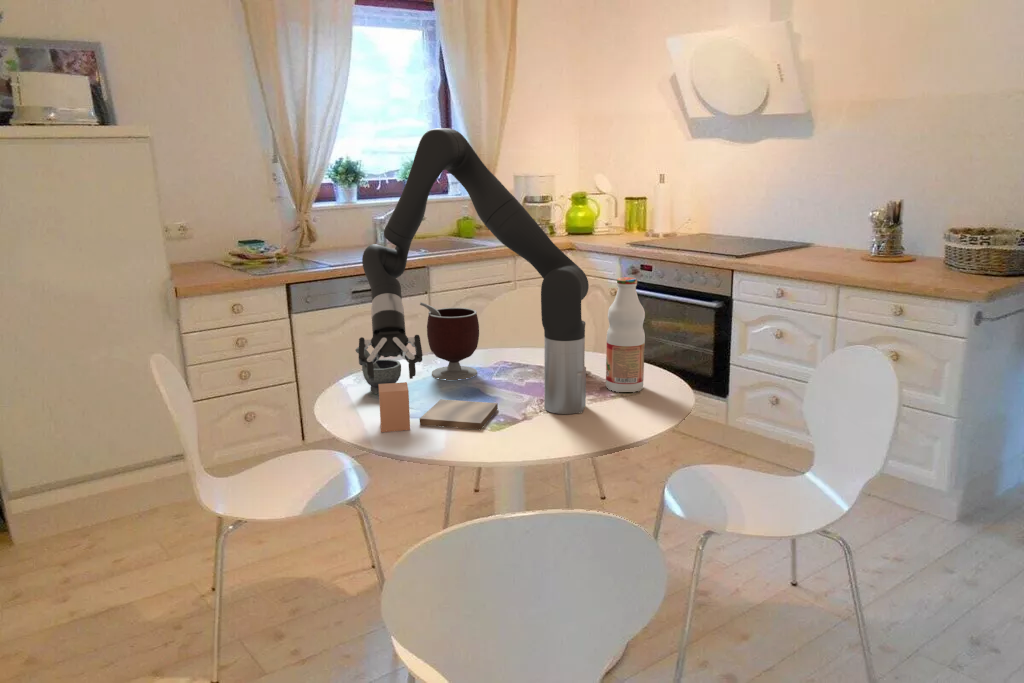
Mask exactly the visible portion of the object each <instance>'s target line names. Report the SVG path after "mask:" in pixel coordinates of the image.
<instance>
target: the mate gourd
mask: <svg viewBox="0 0 1024 683" xmlns="http://www.w3.org/2000/svg"><path fill="white" fill-rule="evenodd" d="M419 306H423V307H424V308H425V309H427V310H428V316H427V323H426V333H427V334H426V335H427V336H426V337H427V340H428V341H427V342H428V345H429V349H430V351H431V352H432V353H433V355H434V356H435V357H436V358H438V359H442V360H443V361H447V362H448V364H447V366H441V367H438V368H435V369H433V370H432V371H431V377H432V376H433V377H432V378H434V377H435V378H434V379H436V378H439V379H438V380H440V379H446V380H445V381H447V380H457V381H459V380H458V379H465V380H467V379H466V378H470V379H472V378H471V377H473V376H475V375H476V374H477V375H478V371H477V369H476V368H474V367H471V366H466V365H465V366H463V365H461V364H460V361H463V360H466V359H468V358H470V357H471V356H473V354H474V353H475V352H476V350H477V348H478V345H479V337H480V323H479V317H478V314H477V310H476V309H472V308H467V307H447V308H445V307H444V308H435V307H434V306H432V305H430V304H427V303H424V302H421V301H420V303H419ZM477 375H476V376H477ZM476 376H475V377H476ZM473 378H474V377H473Z"/></svg>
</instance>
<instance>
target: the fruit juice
mask: <svg viewBox="0 0 1024 683" xmlns="http://www.w3.org/2000/svg"><path fill="white" fill-rule="evenodd" d="M616 285H617V292H616V294H615V297H614V299H613V300H614V301H613V302H612V303H611V304H610V306H609V308H608V310H607V319H608V324H609V325H608V326H609V327H608V329H607V330H606V351H605V352H606V357H605V362H606V363H605V387H606V388H608V389H607V390H608V391H611V390H612V391H611V392H614V391H616V392H615V393H619V392H633V393H636V392H635V391H638V392H640V391H641V389H642V390H643V388H644V375H645V374H644V371H645V345H646V344H645V343H646V337H645V330H644V327H643V325H644V320H645V318H646V313H645V308H644V307H643V305H642V303H641V301H640V299H639V296H638V293H637V286H638V279H637V278H635V277H632V276H631V277H630V276H629V277H624V276H622V277H618V278H617V279H616ZM639 390H640V391H639Z"/></svg>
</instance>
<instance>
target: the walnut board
mask: <svg viewBox="0 0 1024 683" xmlns="http://www.w3.org/2000/svg"><path fill="white" fill-rule="evenodd" d="M497 409H498V403H497V402H486V401H485V402H484V401H470V400H469V401H468V400H455V399H442V398H441V399H439V400H438V401H436V403H435V404H434V405H433V406H431V408H429V410H427V411H426V412H425V413H424V414H423V415H421V417H420V418H419V426H428V427H429V426H430V427H439V426H441V427H442V426H444V427H442V428H452V427H458V428H457V429H465V428H467V430H468V429H469V430H477V429H478V430H479V429H480V431H481V430H482V429H483V428H484V427H483V426H485V425H486V424H487V423H488V422H489V421H490V419H491V418H492V417H493V416H494V414H496V412H497V411H498V410H497ZM492 415H493V416H492ZM491 416H492V417H491ZM487 421H488V422H487ZM441 427H440V428H441ZM482 427H483V428H482Z"/></svg>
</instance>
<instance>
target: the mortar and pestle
mask: <svg viewBox="0 0 1024 683" xmlns="http://www.w3.org/2000/svg"><path fill="white" fill-rule="evenodd" d="M355 353H356V354H358V355H359V346H358V347H356V349H355ZM370 355H371V353H370V352H369V351H368V349H366V350H365V357H366V358H368V357H369V356H370ZM373 367H374V381H371V379H369V378H368V373H367V366H366V365H361V371H362V375H363V378H364V379H365V380H364V381H366V383H367V384H368V385H369V386H370V392H371V394H374V393H375V395H379V385H378V384H387V383H398V381H399V379H400V377H401V373H402V364H401V362H400V361H399V360H394V359H378V361H376V362H375V363H374V365H373Z"/></svg>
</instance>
